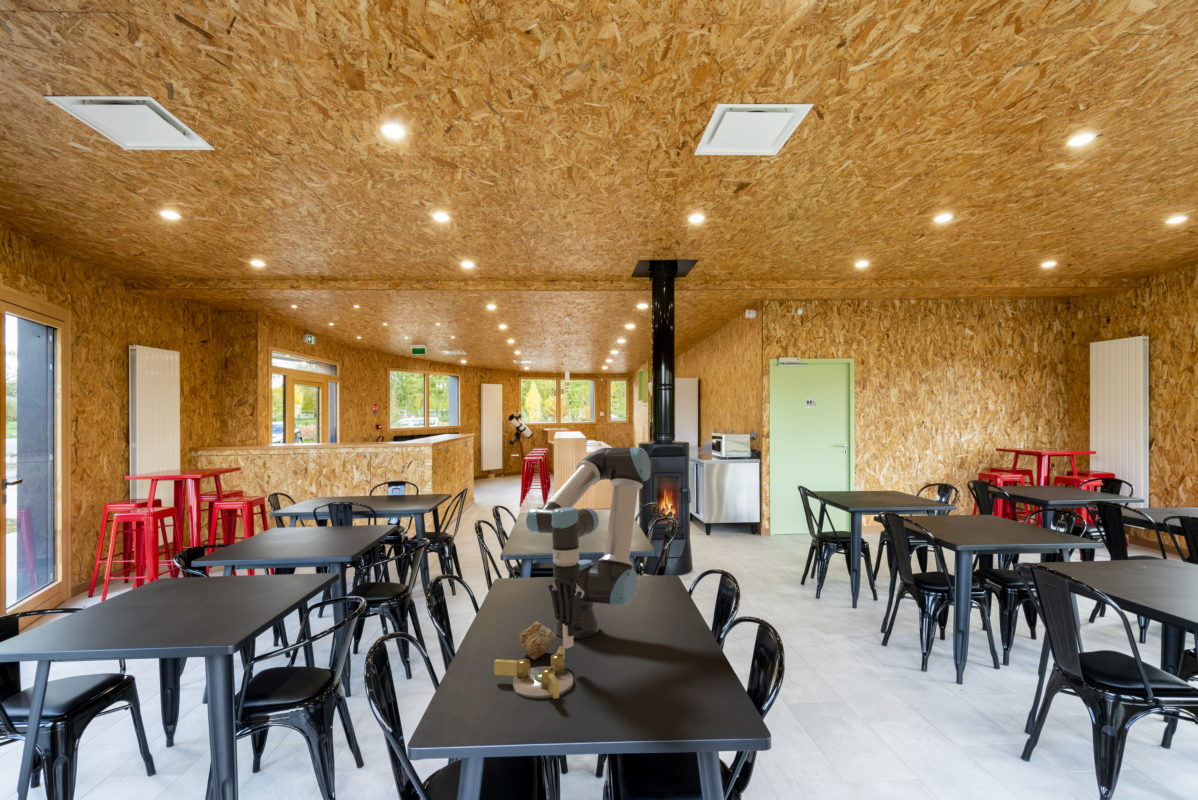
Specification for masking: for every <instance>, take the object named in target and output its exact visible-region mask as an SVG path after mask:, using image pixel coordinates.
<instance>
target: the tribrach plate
mask: <svg viewBox="0 0 1198 800" xmlns="http://www.w3.org/2000/svg"><path fill="white" fill-rule="evenodd" d="M544 668H551V665H549V666H547V665H546V666H535V667H530V677H529V678H528V679H518V678H517V676H513V679H512V689H513V691H514V692H515V694H517V695H519V696H522V697H525V698H528V699H529V698H530V699H538V700H539V699H550V698H553V697H552V695H551V694H550V692H549V690H548V689H543V688H542V687H541V670H542V669H544ZM555 678H556V679H557V681H558V682H559V696H562V695H564V694H566V693H567V692H568V691H570V690H571V689H572V688H573V685H574V676H573V673H572V672H570V671H569V670H567V669H566V668H564V672H563V673H560V674H555Z"/></svg>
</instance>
